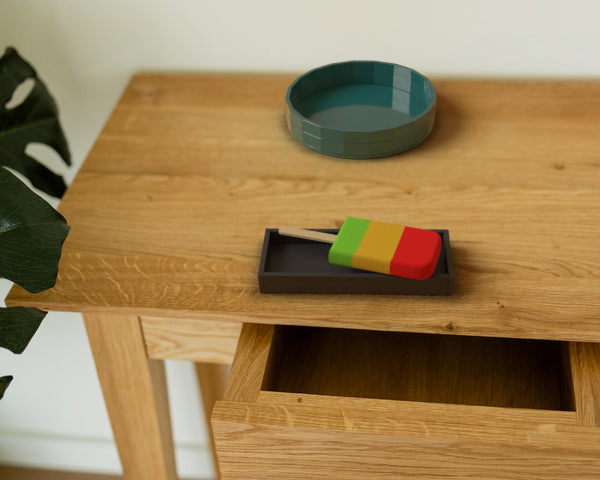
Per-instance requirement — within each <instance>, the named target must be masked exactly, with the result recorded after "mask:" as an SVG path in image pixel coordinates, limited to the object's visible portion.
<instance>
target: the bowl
mask: <svg viewBox="0 0 600 480" xmlns="http://www.w3.org/2000/svg"><path fill="white" fill-rule="evenodd" d="M284 101H285V102H284V104H285V120H286V123H287V128H288V131H289V133H290V135H291V136H292V138H294V140H295V141H297V142H298V143H299V144H300V145H302V146H303V147H305V148H306V149H308V150H311V151H313V152H315V153H318V154H321V155H325V156H328V157H334V158H340V159H349V160H371V159H380V158H386V157H390V156H394V155H395V156H396V155H398V154H401V153H404V152H407V151H408V150H409V151H410V150H411V149H413V148H415V147H416V146H419V145H420V144H421V143H422V142H423V141H425V140H426V139H427V138H428V137H429V136H430V134H431V133H432V131H433V128H434V126H435V123H436V111H437V89H436V87H435V85H434V83H432V81H431V80H430V79H429V77H427V76H425V75H424V74H422V73H421V72H419V71H418V70H416V69H413V68H411V67H408V66H404V65H402V64H399V63H395V62H388V61H382V60H381V61H380V60H370V59H369V60H368V59H367V60H364V59H361V60H355V59H353V60H345V61H338V62H331V63H327V64H325V65H320V66H318V67H314V68H312V69H310V70H308V71H306V72H305V73H302V74H301V75H299V76H297V77H296V78H295V79H294V80H293V81H292V82H291V83H290V85H288V87H287V88H286V94H285V98H284Z"/></svg>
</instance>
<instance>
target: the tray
mask: <svg viewBox="0 0 600 480" xmlns="http://www.w3.org/2000/svg"><path fill="white" fill-rule="evenodd" d="M279 228H280V227H279ZM279 228H276V227H275V228H274V227H272V228H270V227H268V228H266V227H265V230H264V237H263V242H262V248H261V254H260V258H259V259H260V260H259V266H258V271H257V282H258V291H259V293H260V294H261V293H262V294H263V293H264V294H332V295H333V294H336V295H337V294H339V295H346V294H347V295H413V296H416V295H417V296H421V295H422V296H453V294H454V293H453V292H454V285H455V271H454V262H453V255H452V247H451V245H452V244H451V239H450V230H449V229H448V228H447V229H437V228H436V229H435V228H434V229H433V228H431V229H430V228H427V229H426V228H425V229H426V230H430V231H434V232H436V233H438V234H439V235H440V237H441V242H442V243H441V251H440V255H439V258H438V261H437V264H436V267H435V270H434V272H433V274H432V275H431V276H430V277H429V278H427V279H422V280H418V279H411V278H406V277H400V276H395V275H390V274H384V273H379V272H373V271H368V270H363V269H357V268H352V267H347V266H341V265H336V264H330V263H329V251H330V249H331V247H332V245H333V243H327V242H322V241H316V240H310V239H305V238H299V237H293V236H288V235H282V234H279ZM303 229H304V230H310V231H315V232H321V233H327V234H332V235H338V233H339V231H340V229H341V228H303Z"/></svg>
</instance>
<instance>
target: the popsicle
mask: <svg viewBox="0 0 600 480" xmlns="http://www.w3.org/2000/svg"><path fill="white" fill-rule="evenodd" d="M304 229H305V228H299V227H291V226H286V225H282V226H280V227H279V234H282V235H288V236H293V237H299V238H305V239H310V240H316V241H322V242H327V243H333V245H332V247H331V249H330V251H329V263H330V264H336V265H341V266H347V267H352V268H357V269H363V270H368V271H373V272H379V273H384V274H390V275H395V276H400V277H406V278H411V279H418V280H422V279H427V278H429V277H430V276H431V275H432V274H433V272H434V270H435V267H436V264H437V261H438V258H439V255H440V251H441V243H442V242H441V237H440V235H439V234H438V233H436V232H434V231H430V230H426V228H419V227H414V226H413V227H412V226H407V225H401V224H397V223H396V224H395V223H390V222H383V221H377V220H371V219H367V218H366V219H365V218H359V217H353V216H346V218H345V219H344V221H343V223H342V226H341V228H339V229H340V231H339V233H338V235H332V234H327V233H321V232H315V231H310V230H304Z"/></svg>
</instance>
